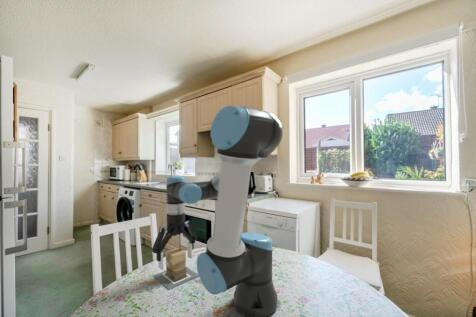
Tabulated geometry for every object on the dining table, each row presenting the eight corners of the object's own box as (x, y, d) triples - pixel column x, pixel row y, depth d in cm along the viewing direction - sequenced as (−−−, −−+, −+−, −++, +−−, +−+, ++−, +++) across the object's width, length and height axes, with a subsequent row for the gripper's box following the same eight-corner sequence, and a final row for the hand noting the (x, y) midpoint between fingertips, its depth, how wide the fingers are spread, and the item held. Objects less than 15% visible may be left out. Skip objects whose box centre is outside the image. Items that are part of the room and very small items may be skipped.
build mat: (199, 276, 92) (199, 275, 92) (168, 290, 83) (168, 289, 83) (182, 265, 102) (182, 264, 102) (153, 276, 93) (153, 275, 93)
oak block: (185, 265, 93) (185, 251, 93) (172, 270, 88) (172, 256, 89) (178, 261, 97) (178, 247, 97) (165, 265, 93) (165, 251, 93)
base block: (186, 276, 91) (186, 267, 91) (175, 281, 88) (175, 271, 88) (176, 269, 97) (176, 261, 97) (166, 274, 94) (166, 264, 94)
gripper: (195, 206, 104) (196, 251, 104) (142, 216, 87) (142, 270, 86) (205, 209, 99) (205, 256, 99) (150, 220, 81) (150, 277, 81)
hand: (176, 262), depth 92 cm, fingers open, 13 cm apart
